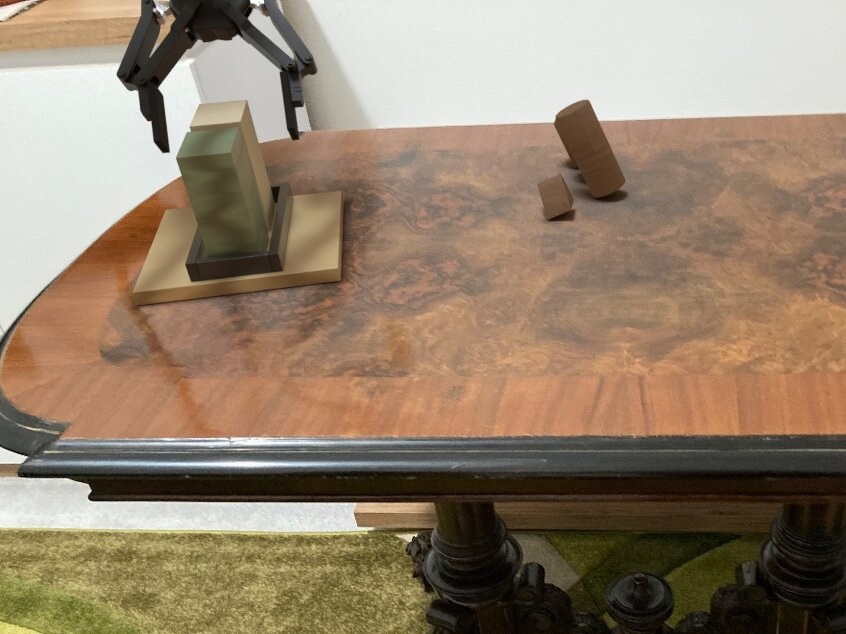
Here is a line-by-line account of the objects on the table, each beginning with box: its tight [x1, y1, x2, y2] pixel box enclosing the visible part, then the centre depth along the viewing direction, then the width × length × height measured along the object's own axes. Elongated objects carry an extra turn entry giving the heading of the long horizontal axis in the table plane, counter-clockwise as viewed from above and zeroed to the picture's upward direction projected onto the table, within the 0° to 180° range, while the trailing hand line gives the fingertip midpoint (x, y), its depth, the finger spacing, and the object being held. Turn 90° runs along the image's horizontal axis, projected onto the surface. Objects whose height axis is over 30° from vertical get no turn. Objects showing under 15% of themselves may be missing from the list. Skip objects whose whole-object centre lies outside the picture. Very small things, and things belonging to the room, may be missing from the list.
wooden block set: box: [536, 99, 626, 221], centre depth 108 cm, size 18×9×10 cm, turn 176°
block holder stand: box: [132, 127, 345, 306], centre depth 97 cm, size 20×20×14 cm
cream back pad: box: [189, 99, 275, 231], centre depth 99 cm, size 5×7×12 cm
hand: (228, 141), depth 98 cm, fingers open, 13 cm apart
